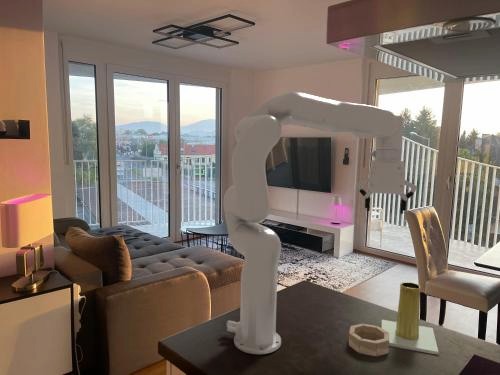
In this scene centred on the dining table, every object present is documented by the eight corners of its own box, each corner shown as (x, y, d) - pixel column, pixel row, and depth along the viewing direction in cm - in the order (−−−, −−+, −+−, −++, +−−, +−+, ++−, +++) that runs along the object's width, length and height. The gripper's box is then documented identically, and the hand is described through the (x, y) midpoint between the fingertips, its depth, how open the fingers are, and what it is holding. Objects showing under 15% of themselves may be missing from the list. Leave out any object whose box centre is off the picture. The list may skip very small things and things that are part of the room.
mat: (380, 344, 101) (380, 341, 101) (381, 322, 114) (381, 319, 114) (438, 354, 96) (438, 351, 96) (432, 330, 109) (432, 328, 109)
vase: (414, 329, 107) (417, 281, 106) (422, 340, 101) (426, 289, 100) (392, 328, 108) (395, 280, 107) (399, 339, 102) (402, 288, 100)
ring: (347, 350, 97) (348, 337, 97) (351, 333, 106) (351, 321, 106) (388, 359, 93) (389, 345, 93) (388, 340, 103) (389, 328, 102)
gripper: (357, 155, 112) (354, 211, 114) (420, 156, 106) (416, 216, 108) (359, 155, 119) (356, 208, 121) (418, 156, 113) (414, 212, 115)
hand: (384, 211), depth 114 cm, fingers open, 9 cm apart
